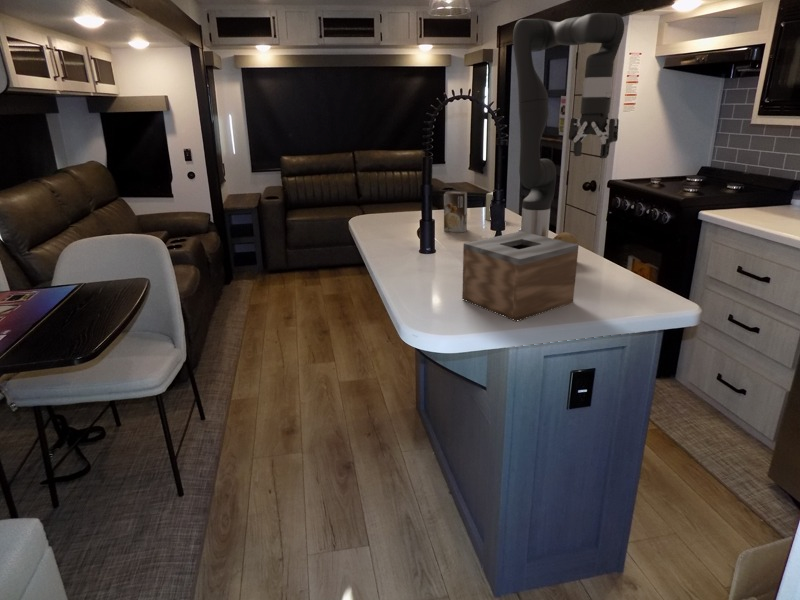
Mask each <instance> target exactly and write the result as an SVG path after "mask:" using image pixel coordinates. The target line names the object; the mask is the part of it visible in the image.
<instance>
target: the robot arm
mask: <svg viewBox="0 0 800 600" xmlns="http://www.w3.org/2000/svg"><path fill="white" fill-rule="evenodd" d="M624 34H625V21H624V18H623V17H622V16H621V15H620V14H618V13H606V12H593V13H588V14H585V15H581V16H575V17H574V16H573V17H569V18H565V19H564V20H561V21H553V20H547V19H543V18H524V19H523V18H522V19H519V20H517V21H516V23H515V25H514V28H513V33H512V43H513V44H512V46H513V53H514V60H515V61H514V62H515V67H516V75H517V76H516V78H517V92H518V94H517V95H518V97H517V98H518V116H519V139H520V140H519V142H520V144H519V147H520V148H519V169H518V170H519V172H518V173H519V175H518V176H519V180H520V183H521V184H522V186H523V187H524V188H526V189H529V190H530V192H529V193H528V195H527V196H526V197H524V198H523V200H522V205H521V206H522V207H521V208H522V209H521V224H520V226H521V227H520V228H519V229H518V232H520V231H521V232H525V233H530V234H534V235H539V236H543V237H547V238H549V230H550V229H549V228H550V217H551V206H552V202H553V200H554V196H555V188H556V181H557V169H556V166H555V163H554V162H553V161H552V160H551V159H550V158H541V152H540V150H541V149H540V148H541V141H542V137H543V134H544V131H545V129H546V126H547V124H548V119H549V113H550V112H549V109H550V108H549V95H548V91H547V89H546V86H545V85H544V83H543V82H542V80H541V78H540V76H539V75H538V73H537V71H536V69H535V67H534V62H533V55H532V54H533V53H532V52H541V51H544V50H547V49H550V48H553V47H555V46H560V45H561V46H579V45H585V44H600V47H599V49H598V51H597V52H594V53H592V54H589V55H588V56H587V57H586V63H585V69H584V70H585V71H584V81H583V84H582V85H583V86H582V93H581V102H580V104H581V106H580V114H581V116H580V118H579V117H572V118H571V119H570V122H569V123H570V125H569V131H568V140H570V141H573V154H574V157H580V156H581V155H582V149H583V142H582V141H583V140H584V139H585V137H587V136H588V135H589V136H590V135H592V136H596V135H597V137H598V138H599V139H600V142H601V146H600V154H599V158H600V159H606V158H608V156H609V154H610V146H611V144H612V143H614V142H618V137H619V124H620V123H619V122H620V120H619V118H609V114H610V109H611V102H612V101H611V99H612V91H613V74H614V62H615V59H616V57H617V53H618V51H619V48H620V45H621V42H622V39H623V37H624ZM579 127H580V128H579ZM607 127H608V129H607Z"/></svg>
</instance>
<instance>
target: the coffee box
mask: <svg viewBox="0 0 800 600" xmlns="http://www.w3.org/2000/svg"><path fill="white" fill-rule="evenodd" d="M467 221H468V191H445V192H444V193H443V232H448V231H454V233H465V232H466V231H467V230H468V228H467V227H468V226H467V225H468V222H467Z"/></svg>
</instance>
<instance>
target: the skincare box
mask: <svg viewBox="0 0 800 600" xmlns="http://www.w3.org/2000/svg"><path fill="white" fill-rule="evenodd" d="M493 192H494V191H492V192H488V193H486V194H485V195H486V196H485V217H484V220H485V221H490V211H489V207H490V204H491V200H492V197H493Z"/></svg>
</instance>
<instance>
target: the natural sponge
mask: <svg viewBox="0 0 800 600" xmlns="http://www.w3.org/2000/svg"><path fill="white" fill-rule="evenodd" d="M552 239H556V240H560V241H565V242H569V243H574V244H578V245H579V241H578V238H577V237H576V236H575V235H574V234H572V233H570V232H560V233H558V234H557V235H555V236H554V237H553V238H552Z"/></svg>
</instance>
